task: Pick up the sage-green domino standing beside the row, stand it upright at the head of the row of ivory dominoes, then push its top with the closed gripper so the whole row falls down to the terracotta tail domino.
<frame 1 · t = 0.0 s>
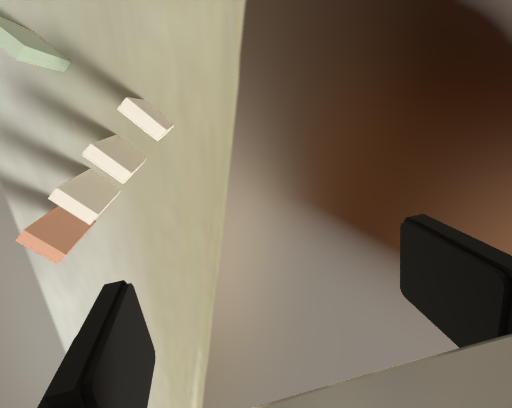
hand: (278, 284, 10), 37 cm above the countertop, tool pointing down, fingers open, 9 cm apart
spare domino: (49, 52, 38), on the countertop
domino 4: (102, 183, 44), on the countertop
domino 3: (129, 150, 43), on the countertop
domino 5: (77, 215, 45), on the countertop
domino 2: (156, 116, 43), on the countertop
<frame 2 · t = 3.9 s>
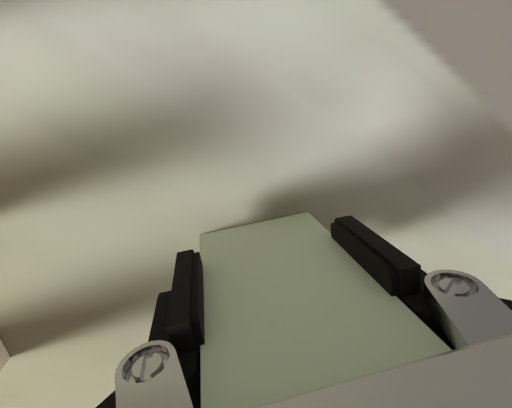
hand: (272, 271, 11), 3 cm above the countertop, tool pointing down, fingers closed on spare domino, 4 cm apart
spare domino: (257, 238, 14), on the countertop, touching gripper
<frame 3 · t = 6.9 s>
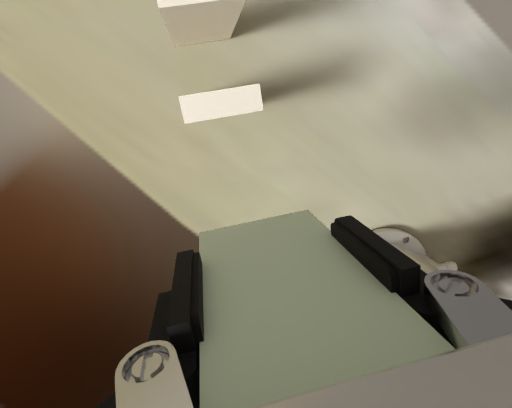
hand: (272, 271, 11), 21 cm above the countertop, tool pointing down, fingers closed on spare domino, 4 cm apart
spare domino: (257, 237, 14), point 18 cm above the countertop, touching gripper
domino 3: (200, 32, 27), on the countertop
domino 2: (214, 105, 29), on the countertop
when the fingers open (4 cm above the countertop, at t = 10.0 s): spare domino stays where it is, on the countertop.
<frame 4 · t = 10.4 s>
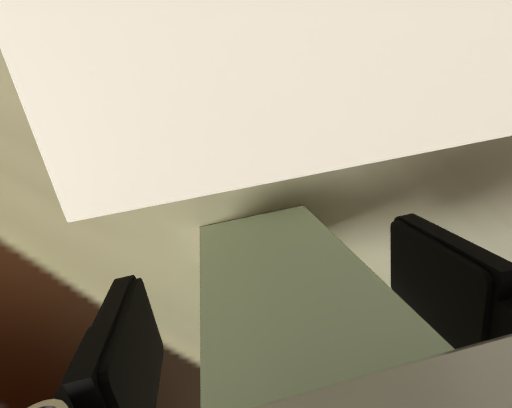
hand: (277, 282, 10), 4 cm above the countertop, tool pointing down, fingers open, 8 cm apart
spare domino: (255, 231, 15), on the countertop
domino 2: (232, 97, 13), on the countertop
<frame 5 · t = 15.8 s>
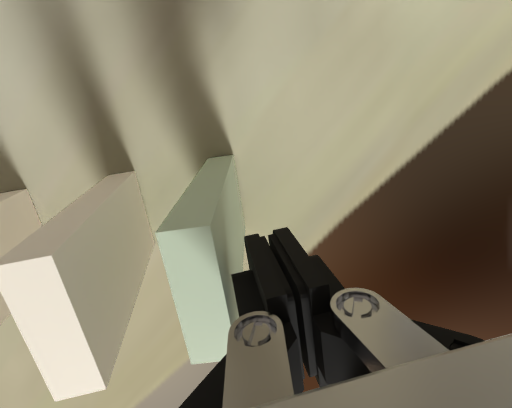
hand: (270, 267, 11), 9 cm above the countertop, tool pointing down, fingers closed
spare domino: (227, 194, 20), on the countertop, tilted 9°
domino 3: (28, 229, 19), on the countertop
domino 2: (132, 211, 19), on the countertop
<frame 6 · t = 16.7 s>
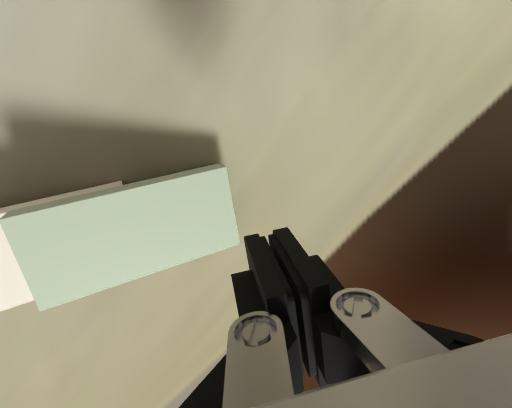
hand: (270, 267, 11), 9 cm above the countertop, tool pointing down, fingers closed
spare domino: (228, 203, 19), point 1 cm above the countertop, tilted 75°, touching domino 2
domino 2: (133, 222, 18), point 1 cm above the countertop, tilted 75°, touching domino 3, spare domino
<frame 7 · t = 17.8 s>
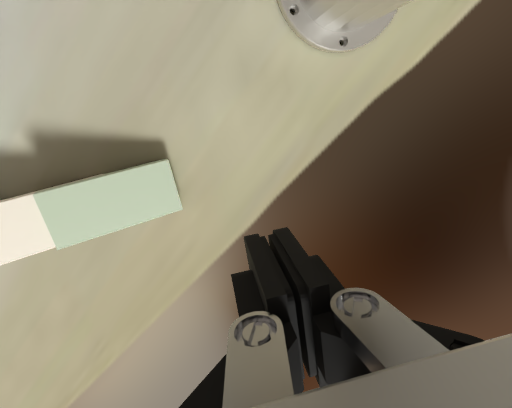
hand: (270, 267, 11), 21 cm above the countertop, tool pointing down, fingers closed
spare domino: (174, 184, 30), point 1 cm above the countertop, tilted 75°, touching domino 2
domino 2: (112, 199, 29), point 1 cm above the countertop, tilted 75°, touching domino 3, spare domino
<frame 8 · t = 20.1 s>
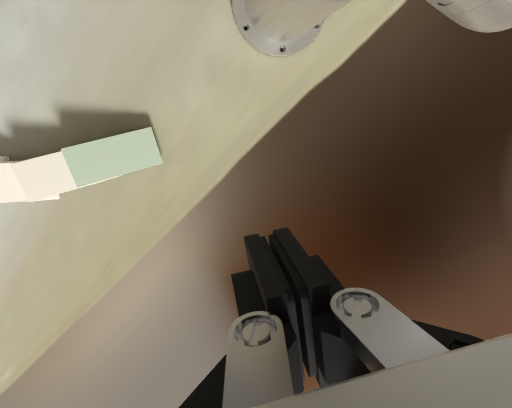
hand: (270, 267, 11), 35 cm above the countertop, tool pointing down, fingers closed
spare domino: (156, 145, 42), point 1 cm above the countertop, tilted 75°, touching domino 2
domino 4: (7, 176, 40), point 1 cm above the countertop, tilted 82°, touching domino 3
domino 3: (57, 179, 41), point 1 cm above the countertop, tilted 73°, touching domino 2, domino 4
domino 2: (113, 157, 42), point 1 cm above the countertop, tilted 75°, touching domino 3, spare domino
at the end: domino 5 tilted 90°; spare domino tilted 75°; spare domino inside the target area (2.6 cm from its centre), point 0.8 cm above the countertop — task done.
